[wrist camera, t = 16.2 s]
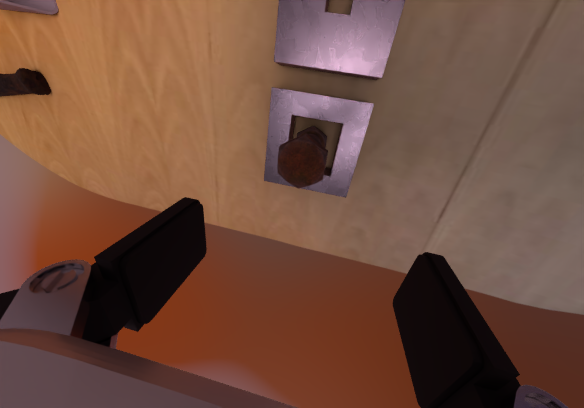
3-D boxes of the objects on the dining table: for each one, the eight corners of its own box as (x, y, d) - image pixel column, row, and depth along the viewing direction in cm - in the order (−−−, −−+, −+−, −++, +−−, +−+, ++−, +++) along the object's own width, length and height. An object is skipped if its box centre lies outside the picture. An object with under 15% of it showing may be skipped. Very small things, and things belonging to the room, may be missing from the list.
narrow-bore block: (419, -67, 23) (434, -96, 19) (376, 79, 30) (381, 77, 26) (294, -78, 24) (288, -107, 21) (280, 65, 31) (273, 61, 27)
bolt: (325, 157, 36) (320, 193, 23) (297, 153, 36) (275, 186, 23) (332, 121, 33) (330, 139, 20) (300, 117, 34) (279, 132, 21)
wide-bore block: (369, 103, 31) (374, 104, 28) (344, 188, 38) (346, 197, 34) (278, 88, 32) (271, 87, 29) (270, 172, 39) (263, 180, 36)
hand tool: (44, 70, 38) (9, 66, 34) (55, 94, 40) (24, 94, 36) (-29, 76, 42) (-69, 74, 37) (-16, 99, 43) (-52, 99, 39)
